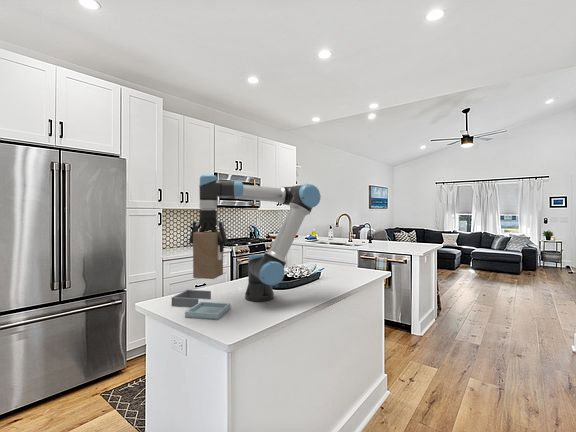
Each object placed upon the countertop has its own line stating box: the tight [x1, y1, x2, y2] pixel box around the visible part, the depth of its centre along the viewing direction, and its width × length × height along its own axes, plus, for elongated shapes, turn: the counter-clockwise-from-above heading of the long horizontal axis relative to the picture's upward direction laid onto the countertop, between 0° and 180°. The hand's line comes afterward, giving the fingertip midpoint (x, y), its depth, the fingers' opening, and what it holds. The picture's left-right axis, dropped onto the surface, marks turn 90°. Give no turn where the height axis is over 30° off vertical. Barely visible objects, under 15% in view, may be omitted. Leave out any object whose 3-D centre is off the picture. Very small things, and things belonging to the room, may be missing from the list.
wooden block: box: [192, 230, 224, 280], centre depth 139 cm, size 10×10×20 cm
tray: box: [184, 301, 232, 321], centre depth 140 cm, size 15×15×2 cm
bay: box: [171, 289, 212, 308], centre depth 156 cm, size 14×15×4 cm
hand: (208, 259), depth 139 cm, fingers closed on wooden block, 10 cm apart
